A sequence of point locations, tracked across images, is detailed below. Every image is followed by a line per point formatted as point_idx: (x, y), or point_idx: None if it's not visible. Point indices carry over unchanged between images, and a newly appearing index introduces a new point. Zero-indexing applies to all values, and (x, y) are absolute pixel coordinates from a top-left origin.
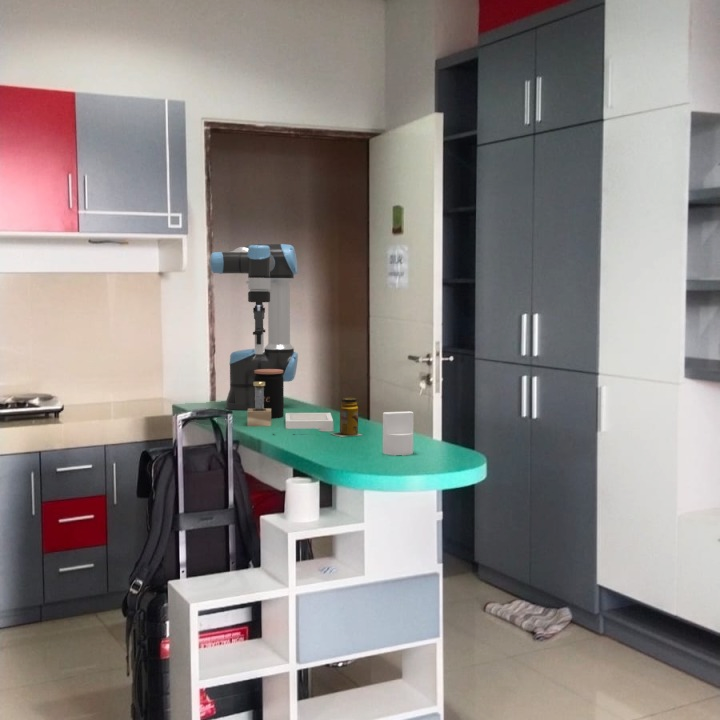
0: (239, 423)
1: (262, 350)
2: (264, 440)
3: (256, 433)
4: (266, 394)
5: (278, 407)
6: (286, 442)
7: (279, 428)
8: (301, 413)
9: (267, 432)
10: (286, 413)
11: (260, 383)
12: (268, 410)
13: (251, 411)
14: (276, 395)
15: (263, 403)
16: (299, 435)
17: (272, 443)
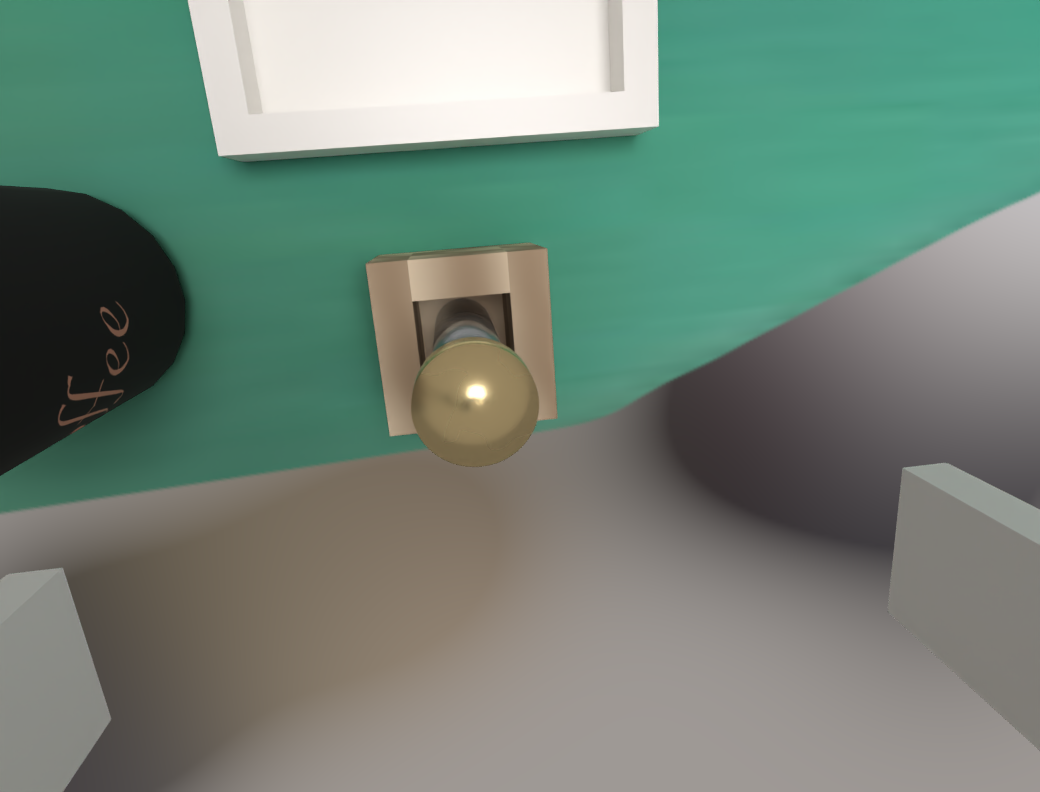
0: (311, 464)
1: (1010, 503)
2: (929, 241)
3: (694, 313)
4: (96, 342)
5: (97, 224)
6: (1013, 105)
7: (503, 187)
8: (225, 9)
9: (661, 251)
10: (244, 145)
11: (535, 384)
12: (489, 273)
13: (547, 391)
14: (57, 244)
15: (477, 321)
16: (786, 30)
17: (1028, 186)
